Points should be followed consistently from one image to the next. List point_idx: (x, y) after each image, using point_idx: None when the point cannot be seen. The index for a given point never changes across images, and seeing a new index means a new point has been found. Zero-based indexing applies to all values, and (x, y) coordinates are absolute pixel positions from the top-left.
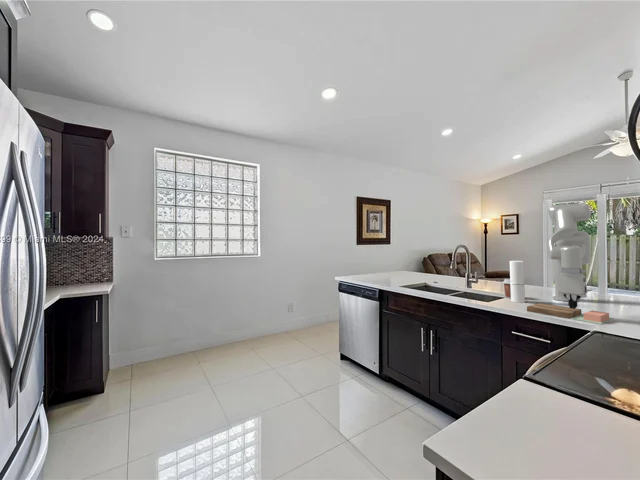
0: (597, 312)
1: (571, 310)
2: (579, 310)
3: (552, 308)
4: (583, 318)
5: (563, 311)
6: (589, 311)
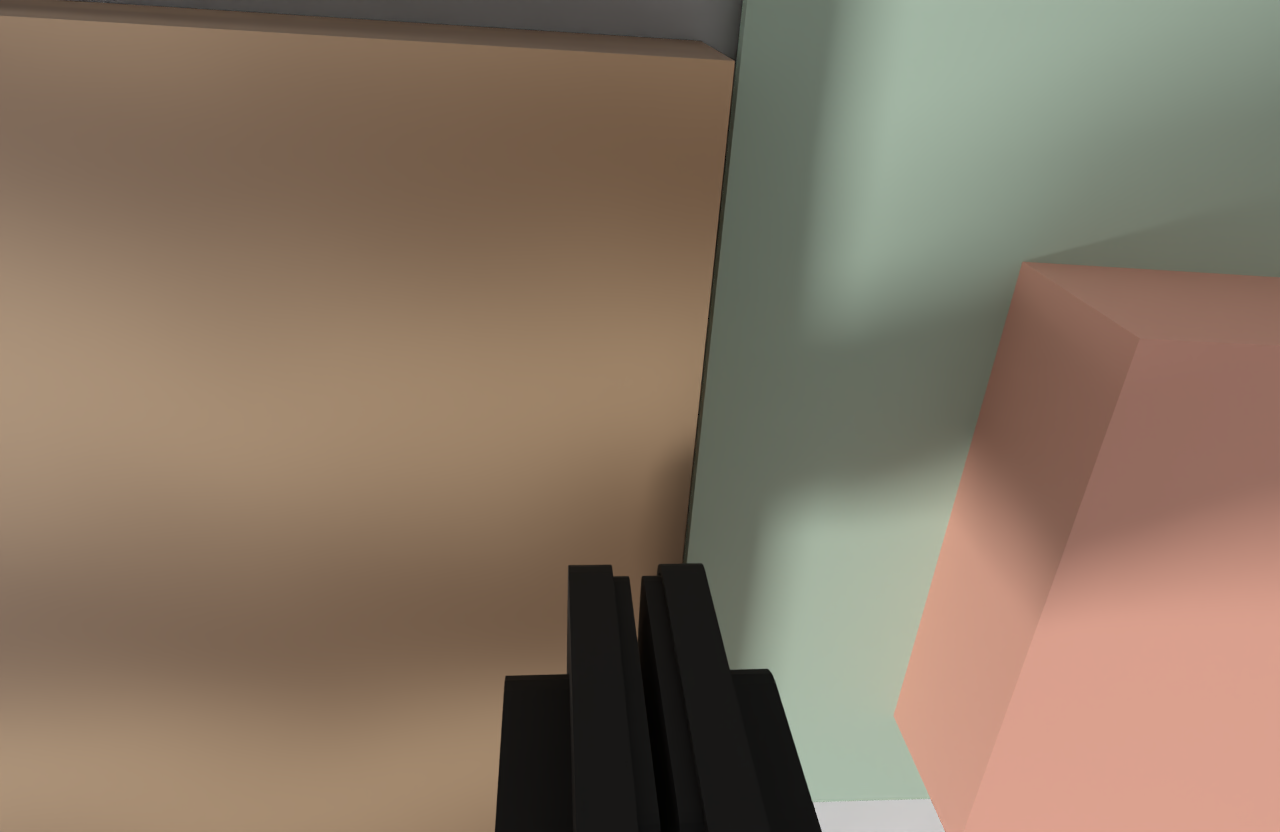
0: (1270, 527)
1: (564, 555)
2: (710, 244)
3: (66, 702)
4: (873, 635)
5: (476, 819)
6: (1069, 562)
